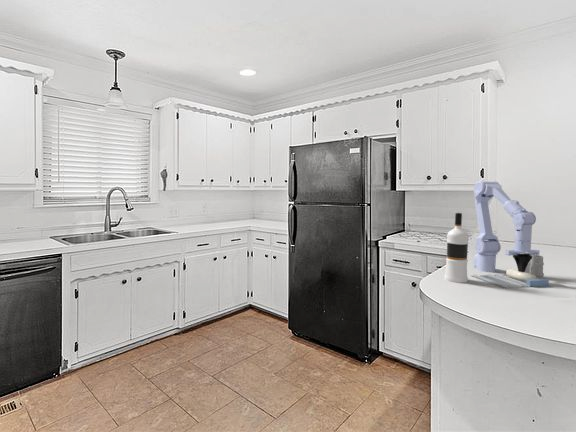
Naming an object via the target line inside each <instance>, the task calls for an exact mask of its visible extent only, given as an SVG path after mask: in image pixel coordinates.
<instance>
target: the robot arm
mask: <svg viewBox="0 0 576 432" xmlns="http://www.w3.org/2000/svg"><path fill="white" fill-rule="evenodd" d="M472 190H473V196H474V205H475V211H476V218H477V224H478V230H479V232H478V233H479V235H478V236H476V238H475V246H474V247H475V248H474V249H475V251H476V252H477V253H475V255H474V256H473V257H474V258H473V270H474V269H476V270H478V271H480V272H485V273H495V272H496V261H497V255H498V254H499V252H500V251H501V248H502V246H501V243H500V241H499V239H498V236H497V235H496V234H494V233H493V227H492V221H491V215H490V207H489V202H490V201H489V200H491V199H492V198H496V199H497V201H499V202H500V203H501V204H502V205H503V208H504V210H505V211H506V213H508V214H509V216H510V217H512V218H511V219H512V223H513V224H514V229H515V232H514V233H515V235H514V238H515V239H514V249H510V250H509V249H508V250H507V249H506V250H505V252H504V253H505V254H504V255H506V256H512V258H513V260H514V262H515V264H516V267H517V270H518V271H519V272H525V270H526V267H527V265H528V263H529V261H530V260H531V259H532V256H530V255H539V256H540V250H539V249H532V235H533V233H532V232H533V225H535V223H536V221H537V218H536V215H535V214H534V212H533V211H528V210H527V209H526V208H524V206H522V205H521V204H520V201H518V200H514V199H511V198H510V197H509V196H508V195H507V193H506V192H505V191H504V190H503V188H502V184H500V183H499V182H498V181H496V180H495V181H483V180H478V181H476V183H475V184H474V186H473V189H472Z"/></svg>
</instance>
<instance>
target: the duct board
mask: <svg viewBox="0 0 576 432" xmlns="http://www.w3.org/2000/svg"><path fill="white" fill-rule="evenodd" d="M471 277H472V278H475V279H477V280H480V281H483V282H486V283H488V284H491V285H493V286H495V287H499V288H501V289H518V288H521V289H522V288H523V289H524V288H543V287H544V288H547V287H549V288H550V287H553V285H549V284H550V283H549V282H550V279H546V278H542V279H541V278H537V279H526V282H522V281H519V280H516V279H513V278H510V277H508V276H507V275H506V274H500V273H496V274H491V273H488V274H483V275H478V274H473V275H471Z"/></svg>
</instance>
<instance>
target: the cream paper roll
mask: <svg viewBox="0 0 576 432" xmlns="http://www.w3.org/2000/svg"><path fill="white" fill-rule="evenodd" d="M505 273H506V274H505V275H507V276H508V277H510V278H513V279H516V280H519V281H522V282H526V279H538V277H536V276H535V275H532V274H529V273H525V272H519V271H518V269H515V268H511V267H510V268H508V269H506V272H505Z"/></svg>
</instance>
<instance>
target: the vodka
mask: <svg viewBox="0 0 576 432" xmlns="http://www.w3.org/2000/svg"><path fill="white" fill-rule="evenodd" d="M454 215H455V219H454V227H453V228H452V229H451V230H449V231H448V232H447V233H446V242H447V244H446V258H445V261H446V262H445V263H446V264H445V265H446V266H445V272H444V275H443V279H444V280H445V281H446V282H450V283H451V282H452V283H457V284H458V283H459V284H463V283H464V284H465V283H468V282H469V278H468V261H469V260H468V253H469V251H468V249H469V239H470V235H469V233H468V232H467V231H466V230H464V229H463V228H462V227H463V226H462V223H463V222H462V221H463V213H462V212H455V214H454Z"/></svg>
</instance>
